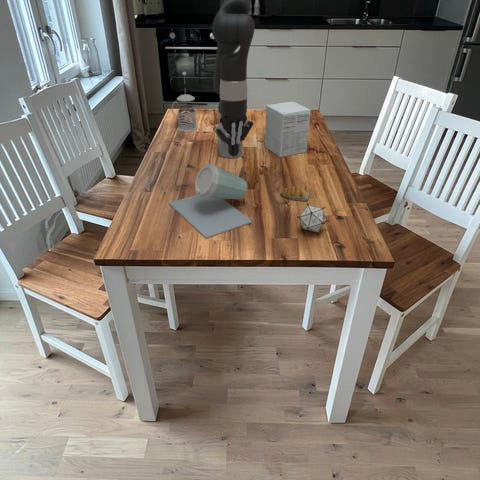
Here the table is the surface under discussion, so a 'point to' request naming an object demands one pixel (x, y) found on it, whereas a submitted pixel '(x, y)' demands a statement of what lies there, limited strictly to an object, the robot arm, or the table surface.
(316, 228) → the game die
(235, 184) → the disposable coffee cup
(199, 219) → the mat
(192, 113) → the french press
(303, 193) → the pastry
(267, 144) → the supplement box
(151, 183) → the table surface
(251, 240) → the table surface
